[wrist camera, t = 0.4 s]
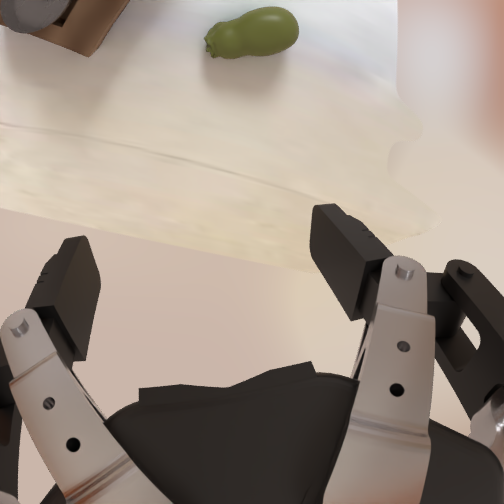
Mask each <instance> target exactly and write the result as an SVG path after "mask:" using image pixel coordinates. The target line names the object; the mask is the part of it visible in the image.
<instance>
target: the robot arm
mask: <svg viewBox="0 0 504 504" xmlns="http://www.w3.org/2000/svg"><path fill="white" fill-rule="evenodd" d="M310 253H311V256H312V259H313V261H314V262H315V264H316V265H317V267H318V269H319V270H320V272H321V273H322V275H323V276H324V278H325V280H326V281H327V283H328V284H329V286H330V288H331V289H332V291H333V293H334V294H335V296H336V298H337V299H338V301H339V302H340V304H341V306H342V307H343V309H344V311H345V312H346V314H347V316H348V317H349V319H350V321H354V320H358V319H362V318H364V319H365V321H366V324H365V327H364V330H363V334H362V338H361V342H360V346H359V349H358V353H357V357H356V360H355V364H354V367H353V370H352V374H351V377H350V378H349V377H345V376H342V375H337V374H332V373H321V372H319V373H318V372H317V373H316V372H315V369H314V367H313V365H312V362H311V361H309V362H304V363H300V364H296V365H292V366H286V367H282V368H277V369H272V370H269V371H267V372H264V373H262V374H260V375H257V376H255V377H253V378H250V379H248V380H246V381H243V382H241V383H238V384H236V385H234V386H231V387H226V388H219V387H205V386H193V385H183V384H179V385H171V386H160V387H150V388H139V401H138V402H135V403H132V404H130V405H128V406H125V407H124V408H122V409H120V410H119V411H117V412H116V413H114V414H113V415H112V416H110V417H109V418H108V419H107V418H106V416H105V415H104V414H103V413H102V411H101V410H100V409H99V407H98V406H97V405H96V403H95V402H94V400H93V399H92V398H91V396H90V395H89V394H88V392H87V391H86V389H85V388H84V386H83V385H82V383H81V382H80V380H79V379H78V377H77V376H76V374H75V373H74V371H73V370H72V365H73V362H74V361H86V356H87V350H88V345H89V339H90V334H91V329H92V324H93V319H94V314H95V310H96V305H97V301H98V297H99V293H100V288H101V281H100V274H99V271H98V268H97V265H96V263H95V259H94V256H93V254H92V251H91V248H90V245H89V241H88V239H87V237H86V236H78V237H72V238H66V239H65V240H64V241H63V243H62V245H61V247H60V249H59V251H58V253H57V254H55V255H53V256H52V258H51V259H50V260H49V261H48V262H47V263H46V264H45V266H44V268H43V270H42V272H41V276H39V278H38V280H37V284H35V286H34V288H33V291H32V293H31V295H30V297H29V300H28V302H27V304H26V307H25V309H21V310H18V311H16V312H14V313H13V314H11V315H10V316H9V317H8V318H7V319H6V320H5V322H4V323H3V325H2V327H1V329H0V504H20V503H19V502H18V459H19V445H20V433H21V425H22V419H23V421H24V423H25V425H26V428H27V430H28V431H29V434H30V436H31V438H32V440H33V442H34V444H35V446H36V448H37V450H38V452H39V454H40V455H41V457H42V459H43V461H44V463H45V464H46V466H47V468H48V470H49V472H50V473H51V475H52V477H53V478H54V480H55V482H56V484H55V485H54V486H53V488H52V489H51V490H50V491H49V492H48V494H47V495H46V496H45V498H44V499H43V500H42V502H41V503H40V504H504V297H503V296H502V295H501V294H500V292H499V291H498V290H497V289H496V288H495V287H494V286H493V285H492V284H491V283H490V281H489V280H488V279H487V278H486V277H485V276H484V275H483V274H482V273H481V272H480V271H479V270H478V269H477V268H476V267H475V266H473V265H472V264H470V263H468V262H466V261H463V260H456V259H455V260H451V261H449V262H448V263H447V265H446V268H445V270H444V273H429V272H426V271H425V269H424V267H423V266H422V265H421V264H420V263H418V262H417V261H415V260H413V259H411V258H408V257H405V256H394V255H393V254H392V253H391V252H390V251H389V250H388V249H387V247H386V246H385V245H384V244H383V243H382V242H381V241H380V240H379V239H378V238H377V237H375V235H374V234H373V233H372V232H371V231H369V229H368V228H367V227H366V226H365V225H364V224H363V223H362V222H361V221H359V220H358V219H356V218H354V217H352V216H350V215H346V214H345V212H344V211H343V210H342V209H341V208H340V207H339V206H338V205H336V204H335V203H333V204H323V205H315V206H314V207H313V211H312V221H311V233H310ZM466 316H467V317H468V318H469V320H470V321H471V322H472V323H473V325H474V326H475V327H476V329H477V330H478V332H479V334H480V340H481V341H480V346H479V348H478V349H477V350H476V348H475V347H474V345H473V344H472V342H471V341H470V340H469V338H468V337H467V335H466V334H465V333H464V331H463V330H462V328H461V327H460V326H461V324H462V323H463V320H464V319H465V317H466ZM434 358H435V359H436V360H437V362H438V364H439V366H440V367H441V369H442V371H443V372H444V374H445V375H446V377H447V379H448V381H449V383H450V384H451V386H452V388H453V390H454V391H455V393H456V395H457V397H458V398H459V400H460V402H461V404H462V406H463V407H464V409H465V411H466V413H467V415H468V417H469V418H470V421H471V426H470V427H471V433H470V434H469V436H468V437H467V436H464V435H463V434H460V433H458V432H456V431H454V430H452V429H450V428H448V427H446V426H443V425H442V424H440V423H438V422H435V421H433V420H431V419H430V418H429V416H430V408H431V399H432V388H433V387H432V386H433V376H434Z"/></svg>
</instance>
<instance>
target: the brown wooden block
mask: <svg viewBox="0 0 504 504" xmlns="http://www.w3.org/2000/svg"><path fill="white" fill-rule="evenodd" d="M129 1H130V0H73V1H72V3H71V4H70V5H69V6H68V7H67V9H66V10H65V12H64V13H63V14H62V15H61V16H60V17H59V18H58V19H57V20H56V21H55V22H53V23H52V24H51V25H49V26H47V27H45V28H43V29H40V30H38V31H35V32H31V33H27V34H30V35H33V36H36V37H39V38H41V39H44V40H47V41H49V42H52V43H54V44H57V45H60V46H62V47H65V48H67V49H70V50H72V51H74V52H77V53H79V54H82V55H84V56H86V57H90V56H91V55H92V54H93V53H94V52H95V51H96V50H97V49H98V48H99V46H100V45H101V43H102V41H103V40H104V38H105V36H106V35H107V33H108V32H109V30H110V29H111V27H112V26H113V24H114V23H115V21H116V20H117V18H118V17H119V15H120V14H121V12H122V11H123V9H124V8H125V7H126V5H127V4H128V3H129ZM0 6H1V0H0ZM0 25H3V26H6V24H5V23H4V21H3V19H2V16H1V10H0ZM6 27H8V26H6Z"/></svg>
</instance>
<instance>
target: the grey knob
mask: <svg viewBox="0 0 504 504" xmlns="http://www.w3.org/2000/svg"><path fill="white" fill-rule="evenodd" d="M72 1H73V0H1V6H0V10H1V16H2V19H3V21H4V23H5V24H6V26H8V27H9V28H10V29H11V30H13V31H15V32H19V33H31V32H35V31H38V30H40V29H43V28H45V27H47V26H49V25H51V24H52V23H53V22H55V21H56V20H57V19H58V18H59V17H60V16H61V15H62V14H63V13H64V12H65V10H66V9H67V7H68V6H69V5H70V4H71V3H72Z"/></svg>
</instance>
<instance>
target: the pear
mask: <svg viewBox="0 0 504 504" xmlns="http://www.w3.org/2000/svg"><path fill="white" fill-rule="evenodd" d="M298 35H299V26H298V23H297V20H296V19H295V17H294V16H293V14H292V13H290V12H289V11H288V10H286V9H284V8H280V7H263V8H259V9H255V10H252V11H249V12H247V13H245V14H244V15H242V16H241V17H239V18H237V19H235V20H231V21H228V22H219V23H217V24H215V25H214V26H213V28H211V29H210V30H209V32H208V34H207V35H206V36H205V37H204V39H205V41H206V42H207V48H206V49H207V50H208V51H207V50H206V51H207V52H210V53H211V57H213V58H216V57H222V58H225V59H235V58H239V57H242V56H247V55H251V56H268V55H272V54H276V53H279V52H281V51H284V50H286V49H288V48H289V47H291V46H292V45H293V44H294V43H295V42H296V40H297V38H298ZM209 49H210V50H209Z"/></svg>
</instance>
